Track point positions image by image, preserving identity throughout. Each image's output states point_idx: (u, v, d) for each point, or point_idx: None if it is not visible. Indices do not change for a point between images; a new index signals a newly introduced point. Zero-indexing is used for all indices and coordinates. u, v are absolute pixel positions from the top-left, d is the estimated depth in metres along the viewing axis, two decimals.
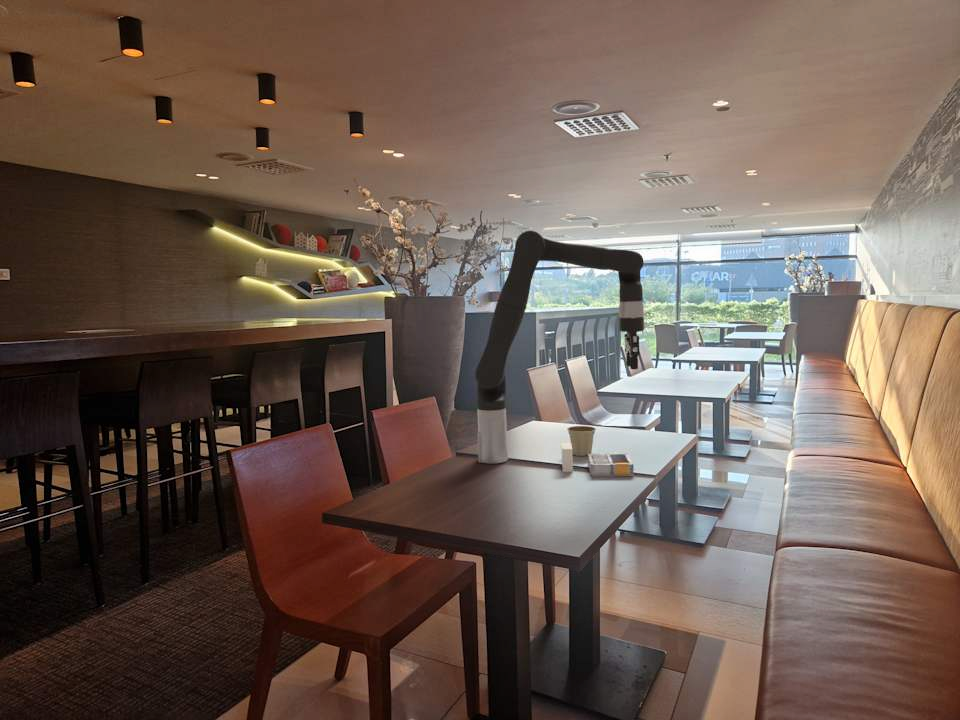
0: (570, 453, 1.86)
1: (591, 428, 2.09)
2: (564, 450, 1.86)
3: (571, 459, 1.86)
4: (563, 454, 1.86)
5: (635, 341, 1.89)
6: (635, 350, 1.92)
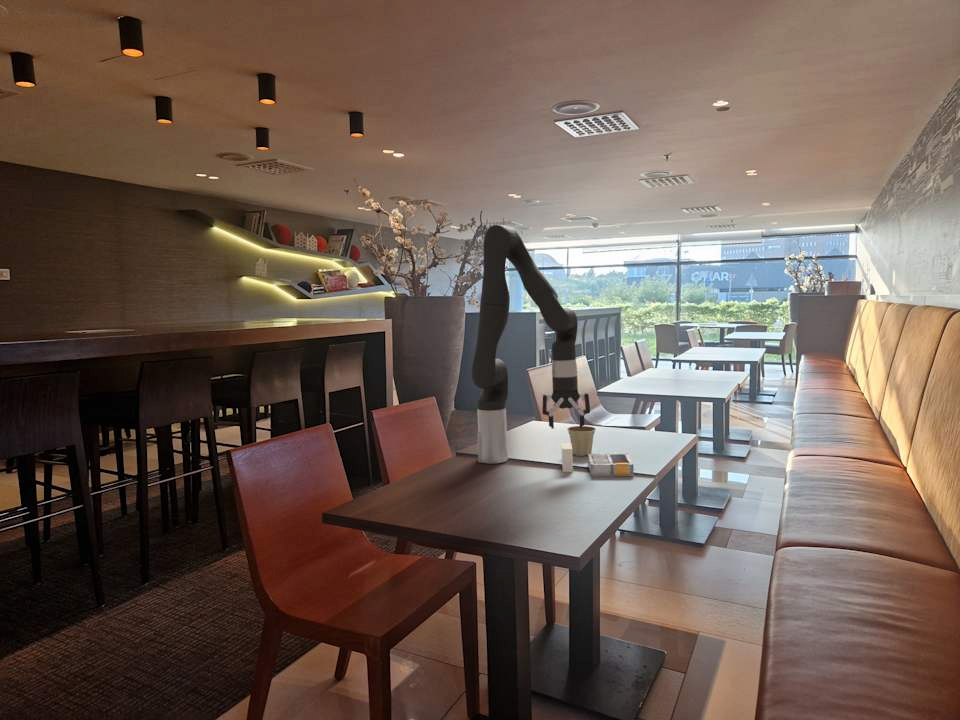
0: (570, 453, 1.86)
1: (591, 428, 2.09)
2: (564, 450, 1.86)
3: (571, 459, 1.86)
4: (563, 454, 1.86)
5: None
6: None
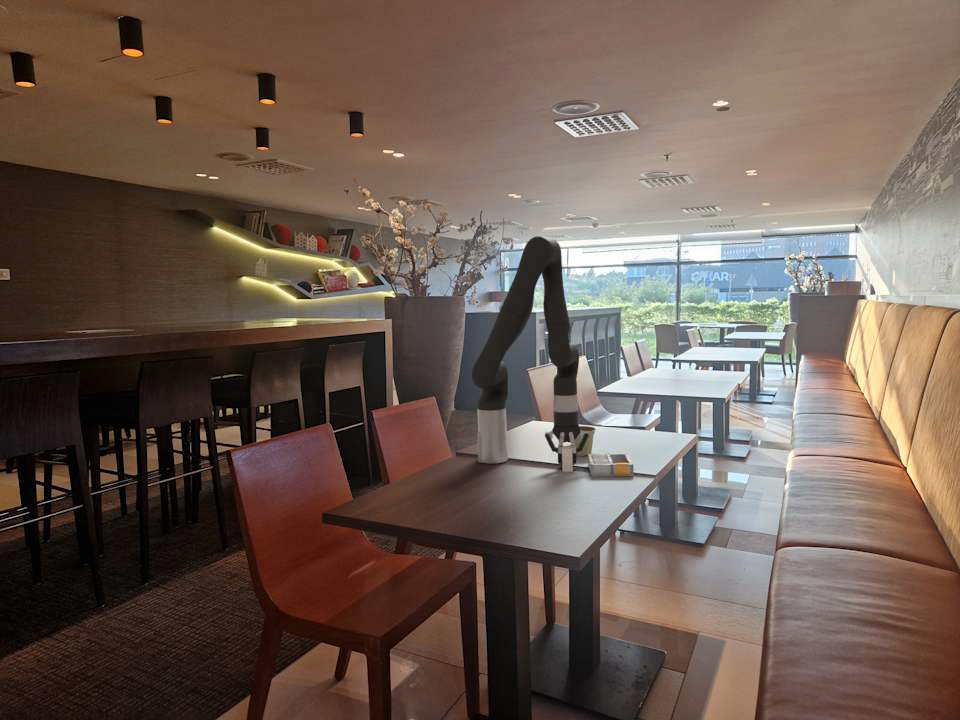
0: (570, 453, 1.86)
1: (591, 428, 2.09)
2: (564, 450, 1.86)
3: (571, 459, 1.86)
4: (563, 454, 1.86)
5: None
6: None
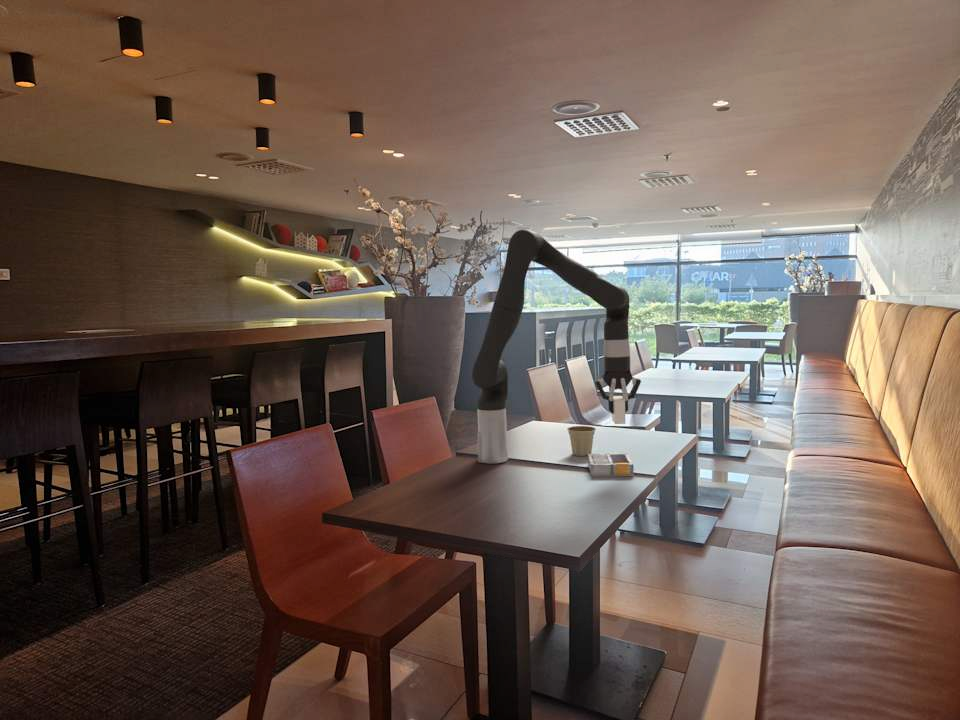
0: (622, 404, 1.80)
1: (591, 428, 2.09)
2: (616, 401, 1.80)
3: (624, 410, 1.80)
4: (615, 405, 1.80)
5: None
6: None
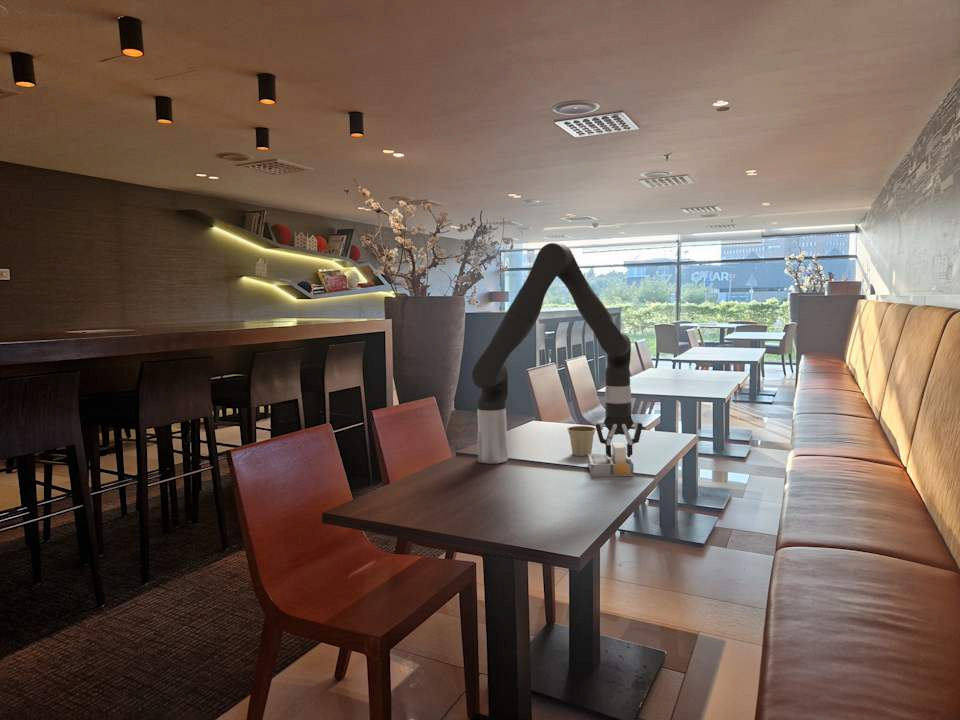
0: (623, 453, 1.82)
1: (591, 428, 2.09)
2: (617, 450, 1.82)
3: (624, 459, 1.82)
4: (616, 454, 1.82)
5: None
6: None
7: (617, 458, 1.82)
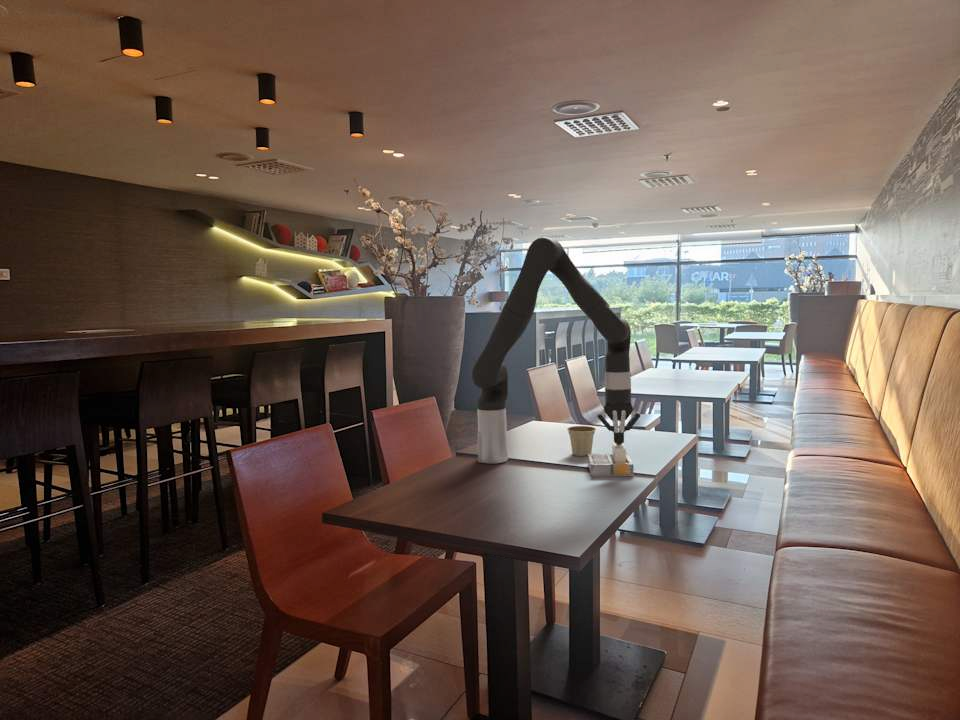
0: (623, 453, 1.82)
1: (591, 428, 2.09)
2: (617, 450, 1.82)
3: (624, 459, 1.82)
4: (616, 454, 1.82)
5: None
6: None
7: (617, 458, 1.82)
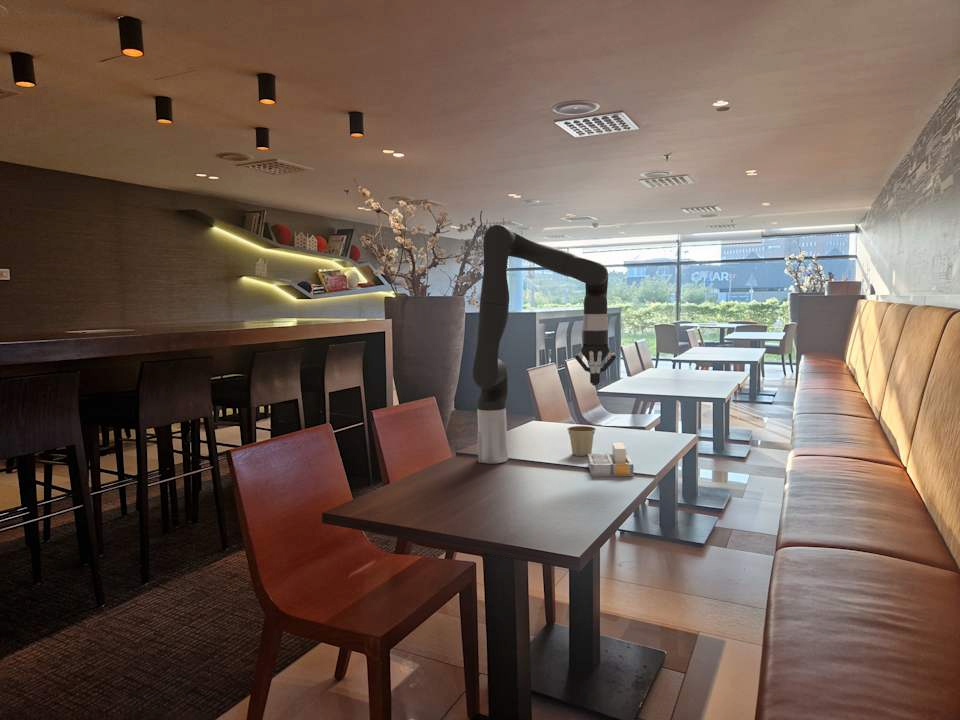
0: (623, 453, 1.82)
1: (591, 428, 2.09)
2: (617, 450, 1.82)
3: (624, 459, 1.82)
4: (616, 454, 1.82)
5: None
6: None
7: (617, 458, 1.82)
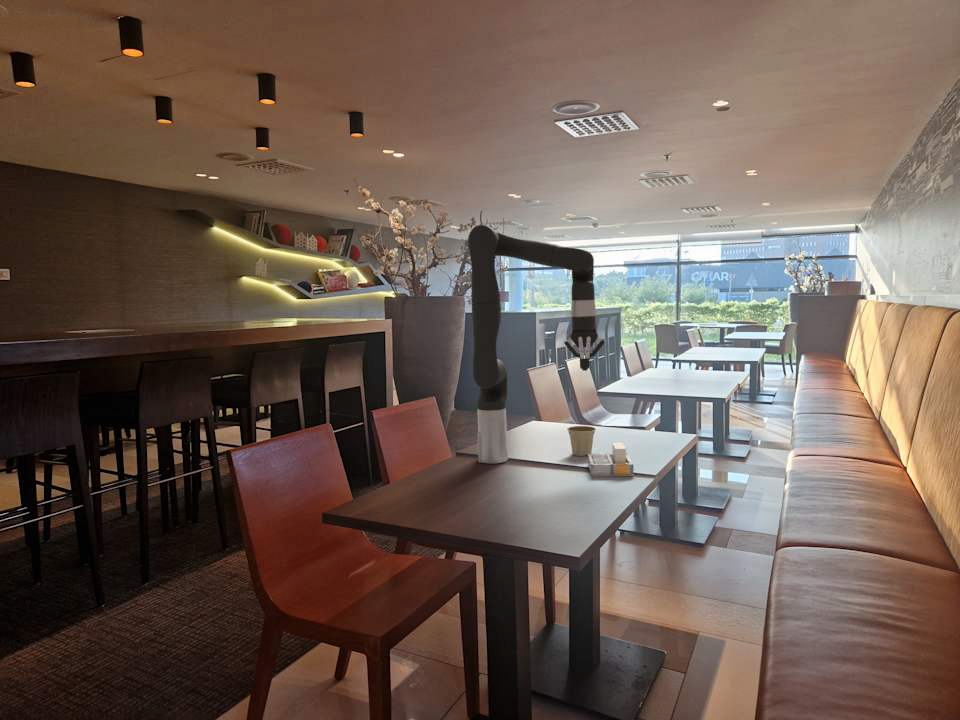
0: (623, 453, 1.82)
1: (591, 428, 2.09)
2: (617, 450, 1.82)
3: (624, 459, 1.82)
4: (616, 454, 1.82)
5: None
6: None
7: (617, 458, 1.82)
